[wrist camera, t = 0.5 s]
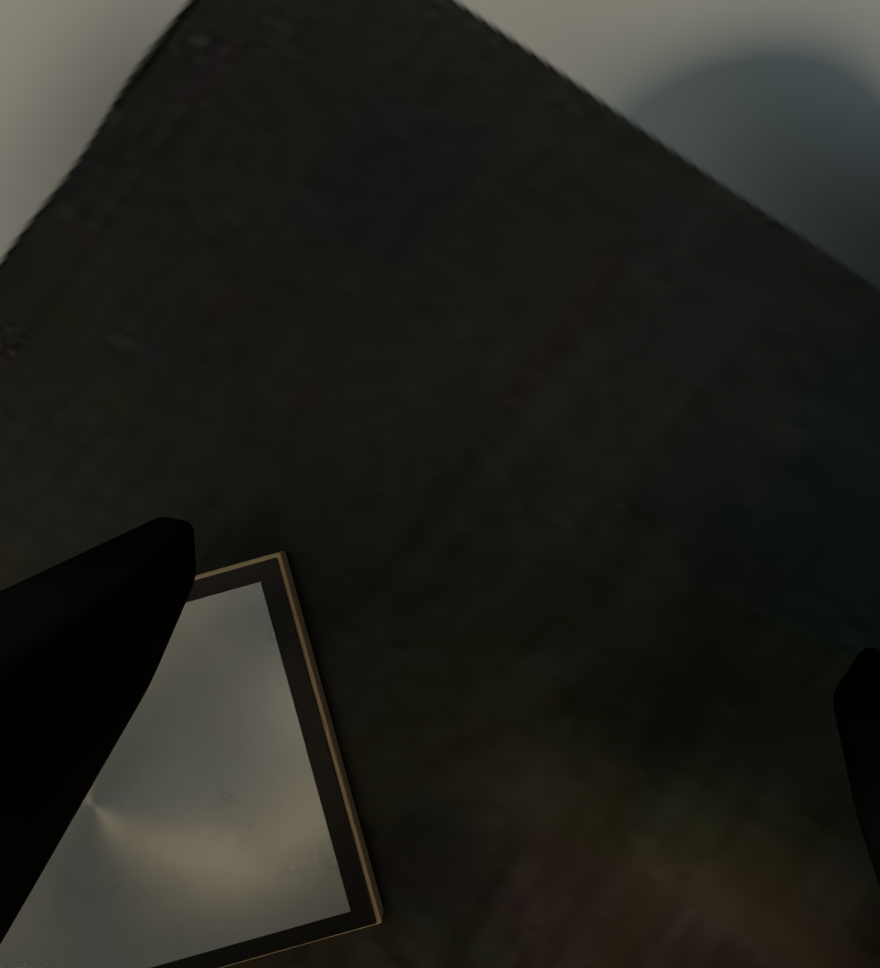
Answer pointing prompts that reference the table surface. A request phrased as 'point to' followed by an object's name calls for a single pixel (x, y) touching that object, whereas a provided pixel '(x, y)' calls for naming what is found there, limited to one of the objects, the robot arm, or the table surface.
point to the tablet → (211, 804)
